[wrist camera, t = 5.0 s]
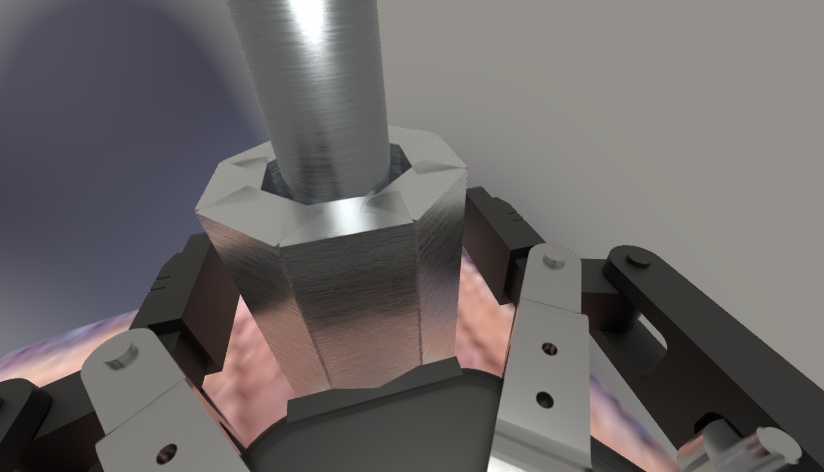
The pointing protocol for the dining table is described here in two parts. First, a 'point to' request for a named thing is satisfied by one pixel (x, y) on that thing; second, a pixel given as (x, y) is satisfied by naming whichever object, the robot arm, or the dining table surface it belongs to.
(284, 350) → the metal sleeve
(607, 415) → the dining table surface
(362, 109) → the pipe stand
